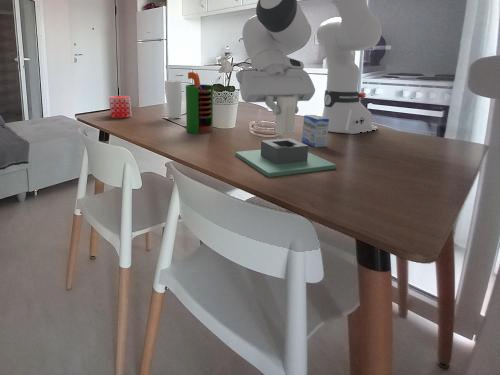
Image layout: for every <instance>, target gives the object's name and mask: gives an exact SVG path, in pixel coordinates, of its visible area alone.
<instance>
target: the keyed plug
mask: <svg viewBox="0 0 500 375" xmlns="http://www.w3.org/2000/svg"><path fill="white" fill-rule="evenodd" d="M275 104H276V105H280V107H281V113H280V115H275V127H274V133H275V134H277V135H280V136H293V135H294V133H295V122H296V120H295V119H296V114H295V108H296V98H293V97H277V102H276V103H275Z"/></svg>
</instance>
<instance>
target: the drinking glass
mask: <svg viewBox="0 0 500 375" xmlns="http://www.w3.org/2000/svg"><path fill="white" fill-rule="evenodd" d="M182 83H183V82H182V81H181V80H179V79H178V80H174V79H173V80H172V79H171V80H164V92H165V93H164V94H165V99H166V107H167V115H168V116H167V117H168V119H171V118H179V117H181V118H182V98H183V96H182V95H183V88H182V87H183V84H182ZM179 119H180V118H179Z"/></svg>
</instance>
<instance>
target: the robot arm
mask: <svg viewBox="0 0 500 375" xmlns="http://www.w3.org/2000/svg"><path fill="white" fill-rule="evenodd" d="M329 2H330V3H331V4H332V5H333V6H334V7H335V8H336V10H337V12H338V15H339V16H337V17H331V18H329V19H326V20H324V21H323V22H321V23H320V25H319V26H318V28H317V31H316V38H317V39H316V40H317V42H318V44H319V45H320V47H321V48H322V50H323V53H324V55H325V60H326V64H327V75H326V76H327V77H326V78H327V79H326V89H325V91H324V95H323V104H324V105H323V112H322V116H321V117H323V118H326V119H329V126H328V132H331V133H339V134H340V133H342V134H351V135H354V134H361V133H360V132H362V133H367V131H368V132H373V131H372V130H375V131H377V130H376V129H378V130H379V127H378V126H377V125H374V124H373V114H372V112H371V111H370V110H369V109H368V108H366V106H365V105H364V104H363V103H362V102H361V99H364V100H365V98H366V97H367V94H366V92H362V91H361V92H359V91H358V86H359V78H360V67H359V66H358V65H357V64H356V63H355V61H354V60H353V57H352V51H357V52H359V51H364V50H369V49H372V48H374V47H376V46H377V45H378V43H379V42H380V40H381V37H382V33H383V29H382V24H381V22H380V20H379V18H377V17H376V16H375V15H374V14H373V13H372V12H371V10H370V8H369V6H368V4H367V1H366V0H329ZM241 34H242V40H243V45H244V46H243V47H244V48H245V52H246V55H247V57H248V59H249V60H250V66H251V68H250V69H245V68H241V69H239V70H237V72H236V73H235V78H236V80H237V82H238V83H239V91H240V96H241V100H242V101H243V102H245V103H265V105H266V106H267V107H268V108H269V109H270V110H272V111H271V112H272V114H273V115H274V116H276V115H280V113H281V107H280V105H276V104H277V97H293V98H296V108H295V115H297V113H299V106H298V102H309V101H310V100H311V99H312V98H313V97H314V95H315V92H316V87H315V85H314V83H313V80H312V78H311V76H310V75H309V73H308V72H307V71H306V70H304V68H305V63H304V62H303V61H301V60H298V59H295V58H291V57H290V56H288V55H290V54H293V53H295V52H297V51H299V50H301V49H302V48H303V47H305V46H306V45H307V43H308V42H309V40H310V38H311V35H312V27H311V24H310V22H309V20H308V18H307V16H306V14H305V13H304V12H303V10H302V8H301V6H300V4H299V2H298V0H258V1H257V3H256V7H255V15H254V16H252V17H250V18H248V19H247V20H246V21H245V22H244V24H243V28H242V33H241Z"/></svg>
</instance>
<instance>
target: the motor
mask: <svg viewBox="0 0 500 375" xmlns="http://www.w3.org/2000/svg"><path fill="white" fill-rule="evenodd" d="M187 79H188V80H191V79H192V80H193V83H192V84H191V83H190V84H186V85H185V113H186V115H185V118H186V122H185V123H186V132H187V133H191V134H197V135H198V134H207V133H208V134H209V133H211V132H213V131H212V130H213V129H214V128H213V120H214V119H213V109H214V108H213V106H214V105H213V103H214V102H213V101H214V100H213V97H214V96H213V95H214V94H213V92H214V90H213V89H214V88H213V85H212V84H203V83H202V84H201V80H200V75H199V74H198V73H197V72H196V71H191V72H188V73H187Z"/></svg>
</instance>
